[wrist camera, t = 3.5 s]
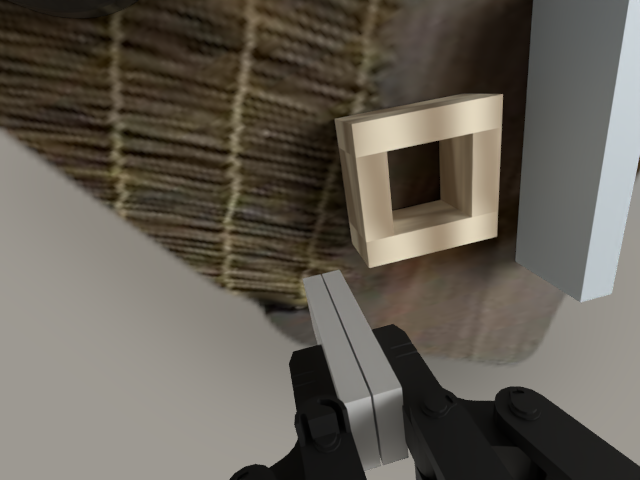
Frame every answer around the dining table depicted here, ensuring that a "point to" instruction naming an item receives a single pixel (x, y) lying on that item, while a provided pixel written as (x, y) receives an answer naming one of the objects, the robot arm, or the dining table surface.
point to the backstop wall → (579, 142)
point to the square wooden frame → (455, 175)
